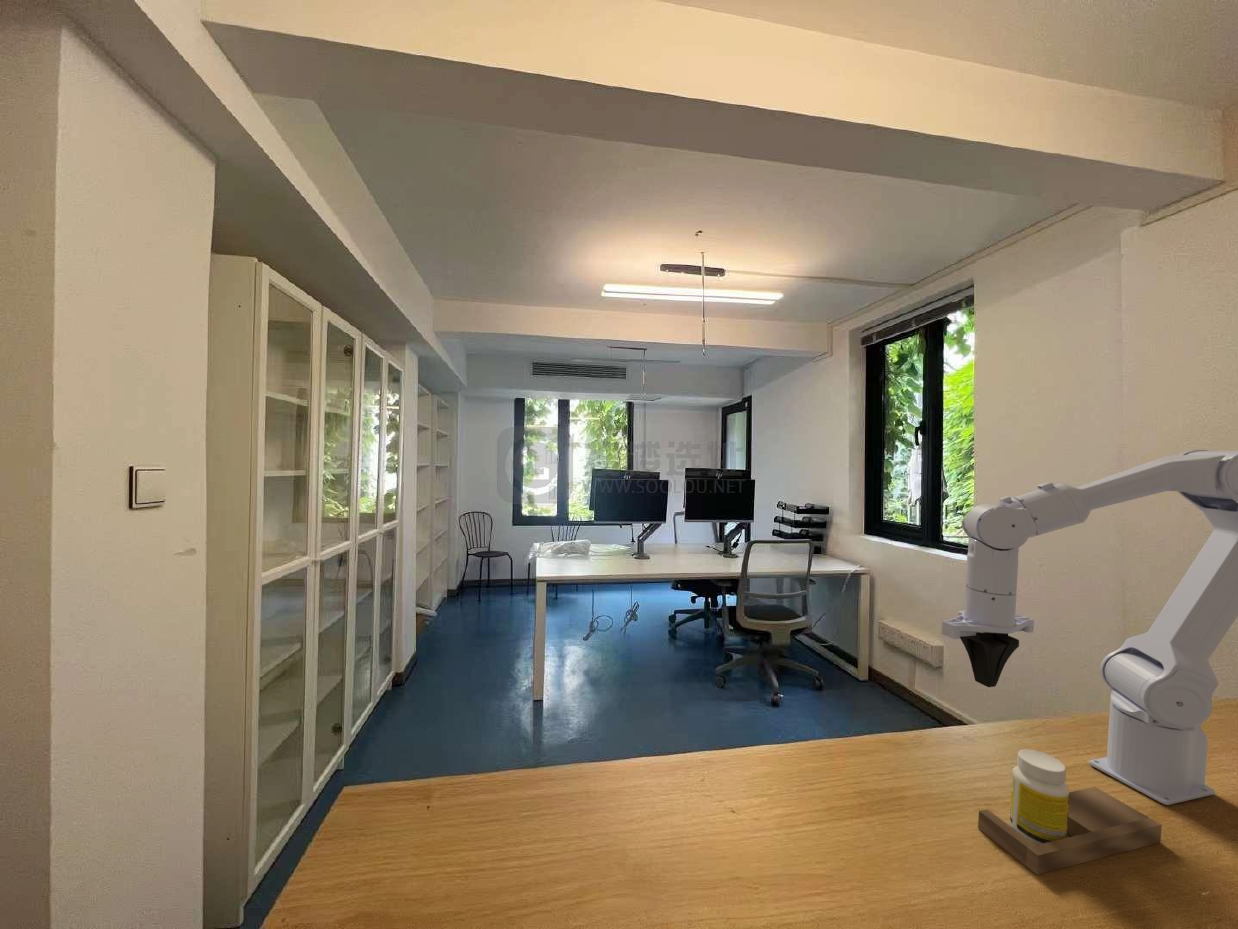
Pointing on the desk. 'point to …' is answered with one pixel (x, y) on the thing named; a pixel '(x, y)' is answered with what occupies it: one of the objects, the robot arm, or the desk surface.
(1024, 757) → the supplement bottle
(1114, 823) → the notched board
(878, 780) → the desk surface
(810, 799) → the desk surface
